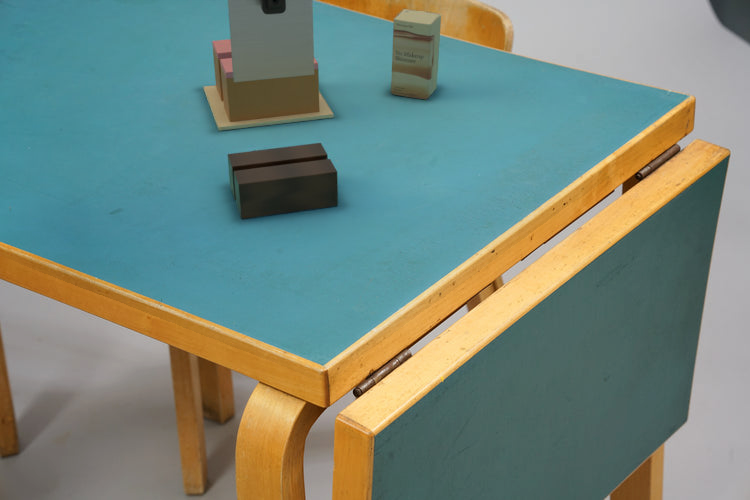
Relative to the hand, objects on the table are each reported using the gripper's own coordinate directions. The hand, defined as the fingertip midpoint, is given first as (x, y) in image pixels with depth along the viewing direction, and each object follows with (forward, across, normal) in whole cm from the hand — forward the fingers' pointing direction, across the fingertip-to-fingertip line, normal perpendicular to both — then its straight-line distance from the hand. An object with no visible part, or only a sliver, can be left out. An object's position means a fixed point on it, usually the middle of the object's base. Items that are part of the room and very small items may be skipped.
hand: (270, 7), depth 93 cm
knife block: (+20, +1, 0) cm, 20 cm away
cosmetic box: (+20, -22, +22) cm, 37 cm away
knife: (+7, 0, 0) cm, 7 cm away
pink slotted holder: (+20, -24, +3) cm, 31 cm away
